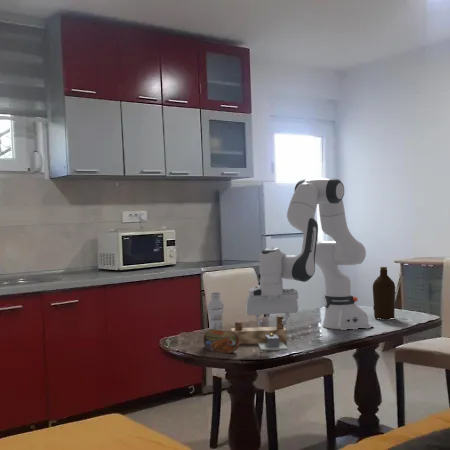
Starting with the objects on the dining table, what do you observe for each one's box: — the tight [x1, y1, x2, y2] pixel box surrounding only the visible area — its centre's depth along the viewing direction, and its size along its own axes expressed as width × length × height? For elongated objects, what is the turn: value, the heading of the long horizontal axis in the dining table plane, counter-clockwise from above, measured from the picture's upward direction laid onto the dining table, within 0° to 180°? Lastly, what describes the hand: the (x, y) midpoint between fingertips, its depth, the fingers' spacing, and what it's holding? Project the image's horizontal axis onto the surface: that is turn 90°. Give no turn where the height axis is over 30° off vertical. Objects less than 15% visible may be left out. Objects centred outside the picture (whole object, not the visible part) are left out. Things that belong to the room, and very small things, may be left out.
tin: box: [203, 329, 240, 354], centre depth 220 cm, size 15×3×8 cm, turn 56°
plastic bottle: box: [207, 292, 225, 330], centre depth 236 cm, size 6×7×20 cm
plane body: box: [230, 315, 288, 345], centre depth 236 cm, size 22×7×10 cm, turn 94°
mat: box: [257, 342, 288, 351], centre depth 226 cm, size 10×10×1 cm
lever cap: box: [265, 333, 279, 348], centre depth 226 cm, size 7×4×4 cm, turn 4°
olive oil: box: [372, 266, 396, 319], centre depth 282 cm, size 11×11×25 cm
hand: (272, 325), depth 226 cm, fingers open, 8 cm apart
